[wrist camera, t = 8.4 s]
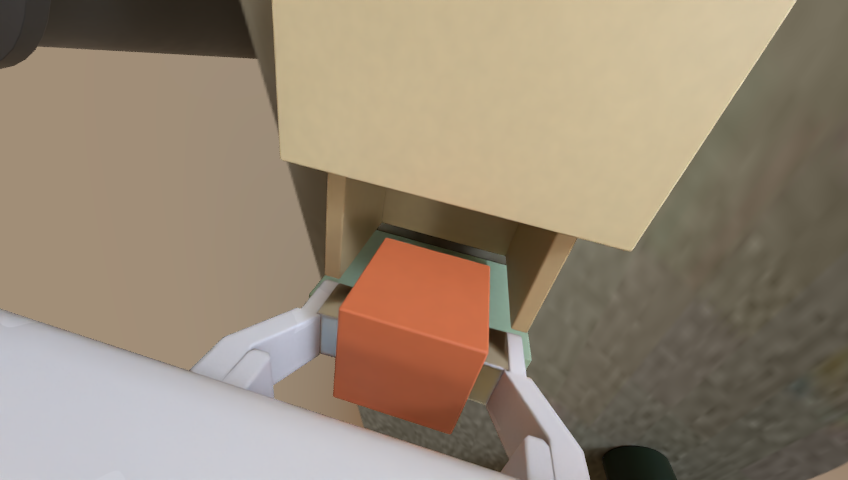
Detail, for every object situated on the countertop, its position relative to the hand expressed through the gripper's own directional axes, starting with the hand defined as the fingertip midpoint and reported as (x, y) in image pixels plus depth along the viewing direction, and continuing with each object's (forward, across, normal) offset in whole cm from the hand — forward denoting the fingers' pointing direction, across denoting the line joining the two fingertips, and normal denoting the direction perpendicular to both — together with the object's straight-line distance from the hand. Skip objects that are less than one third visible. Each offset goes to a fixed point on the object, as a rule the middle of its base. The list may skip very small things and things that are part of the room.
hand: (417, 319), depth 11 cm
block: (+2, 0, 0) cm, 2 cm away
